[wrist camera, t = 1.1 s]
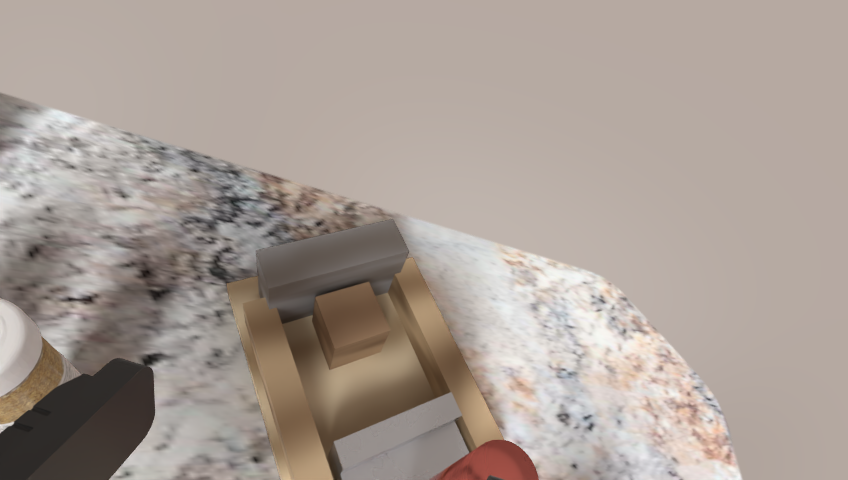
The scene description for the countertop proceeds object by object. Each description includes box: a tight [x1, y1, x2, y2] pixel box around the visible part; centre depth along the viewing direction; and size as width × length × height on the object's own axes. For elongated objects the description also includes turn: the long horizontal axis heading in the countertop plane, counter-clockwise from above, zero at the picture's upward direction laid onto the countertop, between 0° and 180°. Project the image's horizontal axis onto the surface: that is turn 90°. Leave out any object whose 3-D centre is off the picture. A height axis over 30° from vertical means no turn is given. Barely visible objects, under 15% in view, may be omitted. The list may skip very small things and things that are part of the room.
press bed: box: [227, 219, 504, 480], centre depth 32 cm, size 26×14×8 cm, turn 26°
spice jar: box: [0, 298, 81, 433], centre depth 25 cm, size 5×5×13 cm
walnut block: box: [312, 282, 390, 370], centre depth 35 cm, size 4×4×4 cm
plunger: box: [328, 392, 539, 480], centre depth 25 cm, size 8×8×14 cm
